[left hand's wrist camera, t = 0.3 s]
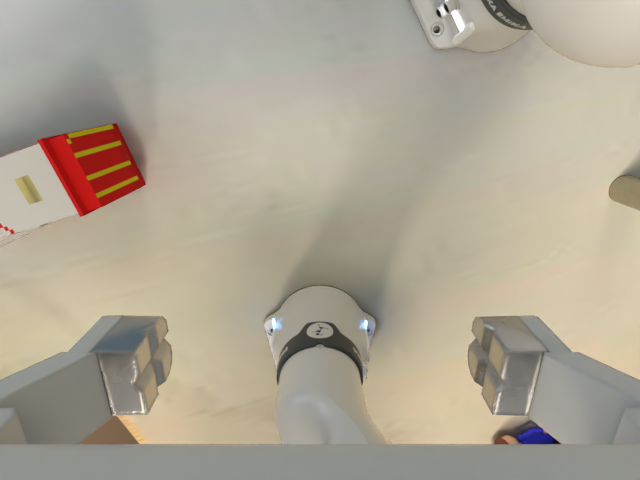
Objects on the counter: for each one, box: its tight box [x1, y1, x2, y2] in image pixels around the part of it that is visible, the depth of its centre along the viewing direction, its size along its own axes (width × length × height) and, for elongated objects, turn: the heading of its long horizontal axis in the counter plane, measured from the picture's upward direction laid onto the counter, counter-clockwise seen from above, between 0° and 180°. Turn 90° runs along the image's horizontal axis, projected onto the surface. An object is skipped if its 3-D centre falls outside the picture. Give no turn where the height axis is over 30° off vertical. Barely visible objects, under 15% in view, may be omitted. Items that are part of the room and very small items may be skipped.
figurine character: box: [494, 428, 561, 444], centre depth 72 cm, size 7×8×15 cm
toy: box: [0, 123, 146, 247], centre depth 53 cm, size 12×13×30 cm
